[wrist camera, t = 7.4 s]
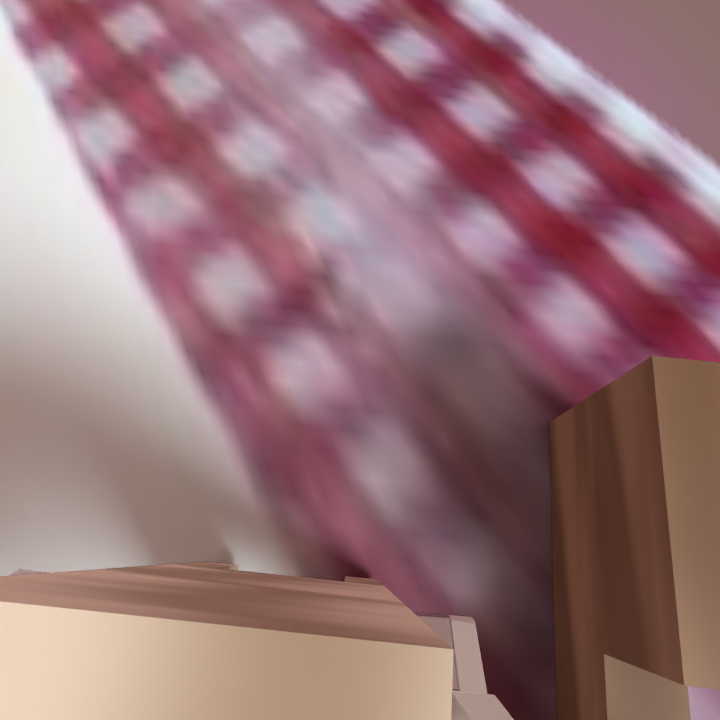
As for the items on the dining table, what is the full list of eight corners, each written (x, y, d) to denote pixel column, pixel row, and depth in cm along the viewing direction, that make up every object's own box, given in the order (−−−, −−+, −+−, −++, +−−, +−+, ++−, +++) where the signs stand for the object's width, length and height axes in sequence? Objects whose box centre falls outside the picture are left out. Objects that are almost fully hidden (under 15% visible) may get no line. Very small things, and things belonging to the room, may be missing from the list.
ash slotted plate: (193, 632, 19) (-246, 868, 5) (206, 561, 20) (-138, 587, 6) (371, 651, 19) (444, 943, 5) (376, 579, 20) (453, 648, 6)
